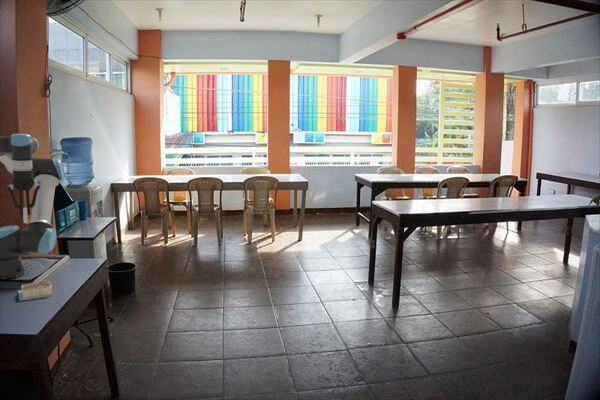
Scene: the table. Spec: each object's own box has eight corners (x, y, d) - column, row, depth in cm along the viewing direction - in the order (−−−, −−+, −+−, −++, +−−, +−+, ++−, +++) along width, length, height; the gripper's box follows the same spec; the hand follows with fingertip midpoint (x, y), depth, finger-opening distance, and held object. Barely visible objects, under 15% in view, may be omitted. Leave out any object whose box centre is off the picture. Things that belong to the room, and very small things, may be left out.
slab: (50, 287, 212) (22, 291, 206) (50, 280, 212) (21, 284, 206) (52, 293, 206) (22, 298, 200) (51, 286, 205) (22, 290, 199)
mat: (18, 291, 207) (18, 290, 207) (47, 287, 213) (47, 286, 213) (19, 300, 198) (19, 299, 198) (50, 296, 204) (50, 295, 204)
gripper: (5, 171, 198) (8, 225, 203) (40, 170, 205) (43, 223, 210) (4, 169, 205) (8, 221, 209) (39, 168, 212) (41, 219, 216)
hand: (25, 222), depth 209 cm, fingers closed
